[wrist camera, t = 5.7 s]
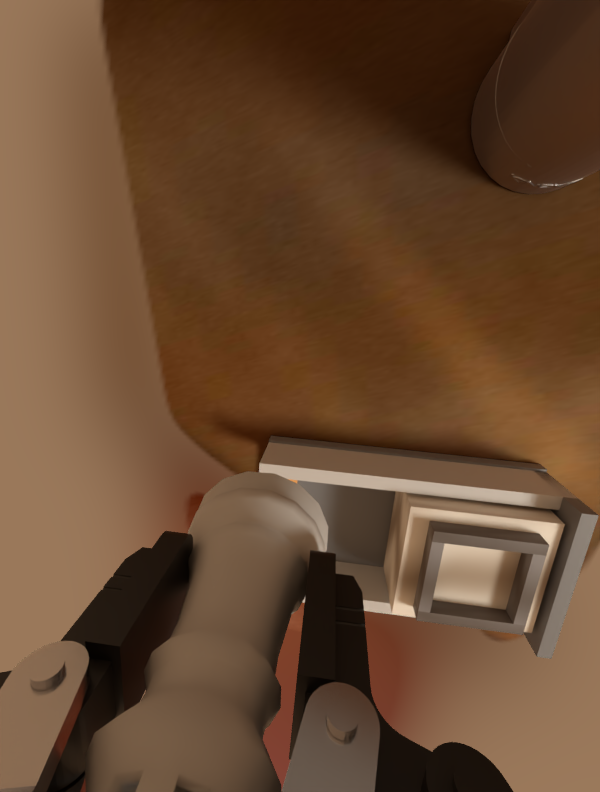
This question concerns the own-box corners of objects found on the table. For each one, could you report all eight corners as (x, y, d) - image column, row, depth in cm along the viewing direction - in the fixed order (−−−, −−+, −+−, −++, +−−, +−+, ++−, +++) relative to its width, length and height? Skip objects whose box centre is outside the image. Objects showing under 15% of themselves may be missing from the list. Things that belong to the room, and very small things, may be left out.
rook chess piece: (191, 560, 13) (-3, 916, 6) (211, 449, 12) (-3, 717, 4) (311, 591, 13) (278, 1000, 6) (344, 483, 12) (357, 819, 4)
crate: (398, 472, 30) (414, 516, 24) (527, 486, 29) (576, 535, 23) (383, 566, 32) (394, 627, 26) (501, 581, 32) (540, 648, 26)
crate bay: (271, 435, 32) (253, 473, 25) (540, 464, 30) (599, 512, 23) (263, 555, 35) (246, 618, 28) (507, 586, 33) (550, 660, 26)
